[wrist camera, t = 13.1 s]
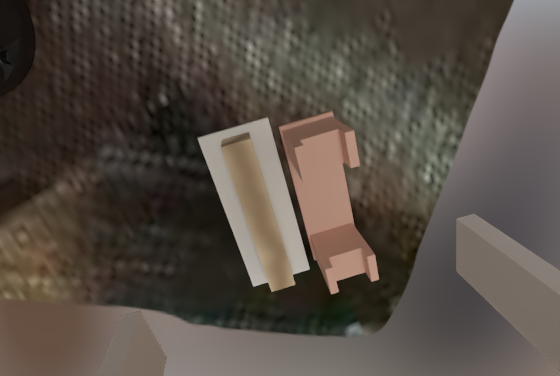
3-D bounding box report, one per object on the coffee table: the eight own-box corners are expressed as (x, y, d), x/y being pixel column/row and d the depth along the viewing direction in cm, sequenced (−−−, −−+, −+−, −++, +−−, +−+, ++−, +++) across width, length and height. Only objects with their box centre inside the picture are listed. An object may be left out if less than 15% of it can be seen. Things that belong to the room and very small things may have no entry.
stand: (313, 257, 49) (329, 297, 41) (278, 126, 41) (290, 144, 33) (356, 243, 50) (381, 281, 41) (330, 110, 41) (355, 124, 33)
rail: (268, 276, 49) (271, 291, 46) (221, 139, 40) (220, 147, 37) (291, 269, 49) (295, 284, 46) (248, 131, 40) (250, 138, 37)
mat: (253, 284, 50) (253, 286, 49) (197, 137, 40) (197, 138, 40) (309, 266, 50) (309, 269, 49) (267, 116, 40) (267, 117, 40)
